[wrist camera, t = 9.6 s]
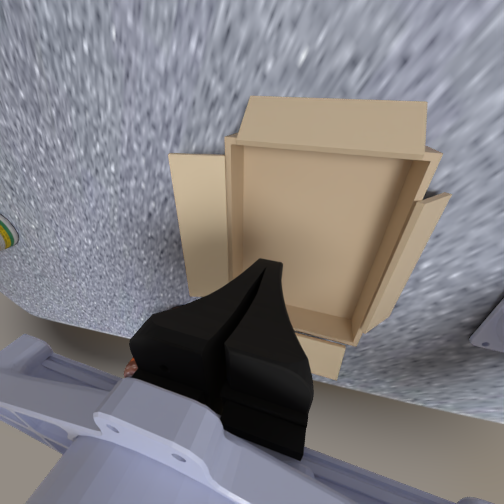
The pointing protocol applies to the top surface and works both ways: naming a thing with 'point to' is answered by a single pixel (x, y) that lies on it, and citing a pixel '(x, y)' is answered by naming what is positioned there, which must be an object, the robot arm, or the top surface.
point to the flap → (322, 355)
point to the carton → (332, 205)
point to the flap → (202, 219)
